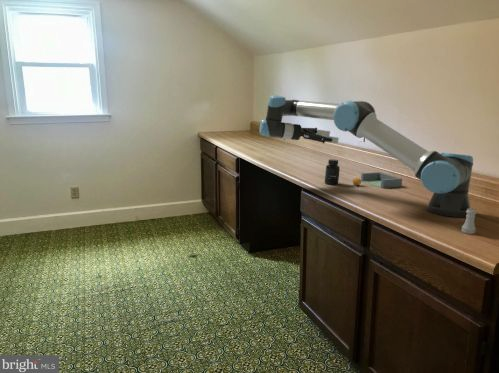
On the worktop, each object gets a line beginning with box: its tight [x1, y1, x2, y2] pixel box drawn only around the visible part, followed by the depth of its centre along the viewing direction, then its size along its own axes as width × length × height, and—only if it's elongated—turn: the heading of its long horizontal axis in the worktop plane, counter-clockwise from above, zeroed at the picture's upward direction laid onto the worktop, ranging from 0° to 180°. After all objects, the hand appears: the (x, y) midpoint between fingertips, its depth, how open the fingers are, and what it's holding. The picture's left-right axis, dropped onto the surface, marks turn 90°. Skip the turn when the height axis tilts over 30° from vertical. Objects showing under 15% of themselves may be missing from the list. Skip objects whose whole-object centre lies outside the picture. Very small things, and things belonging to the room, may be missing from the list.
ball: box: [352, 177, 362, 186], centre depth 202 cm, size 4×4×4 cm
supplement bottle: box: [324, 158, 341, 186], centre depth 204 cm, size 7×7×12 cm
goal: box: [360, 171, 403, 189], centre depth 208 cm, size 12×17×4 cm
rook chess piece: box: [460, 208, 478, 235], centre depth 138 cm, size 4×4×8 cm
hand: (333, 137), depth 201 cm, fingers open, 13 cm apart
